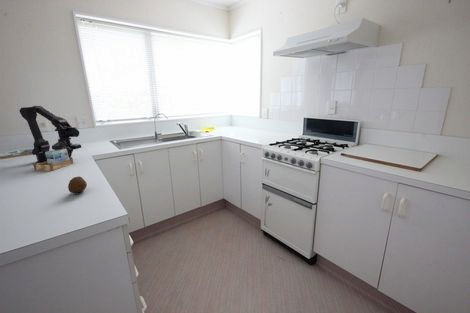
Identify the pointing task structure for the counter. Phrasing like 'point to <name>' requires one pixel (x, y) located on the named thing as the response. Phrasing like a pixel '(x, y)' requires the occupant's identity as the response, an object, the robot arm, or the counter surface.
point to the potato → (77, 185)
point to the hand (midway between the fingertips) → (69, 158)
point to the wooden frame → (52, 167)
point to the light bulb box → (57, 156)
